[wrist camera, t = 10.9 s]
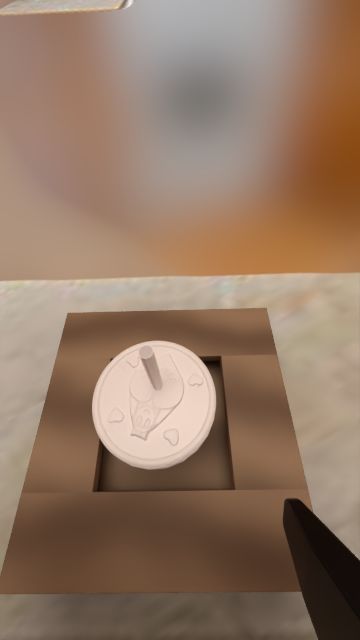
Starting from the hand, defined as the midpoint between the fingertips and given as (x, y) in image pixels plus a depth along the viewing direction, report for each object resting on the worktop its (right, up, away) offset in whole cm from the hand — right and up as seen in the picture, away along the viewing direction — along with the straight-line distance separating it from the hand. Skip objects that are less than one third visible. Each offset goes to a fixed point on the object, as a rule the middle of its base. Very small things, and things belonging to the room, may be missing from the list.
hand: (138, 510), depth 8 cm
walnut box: (0, -3, +14) cm, 14 cm away
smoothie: (0, -3, +13) cm, 14 cm away
